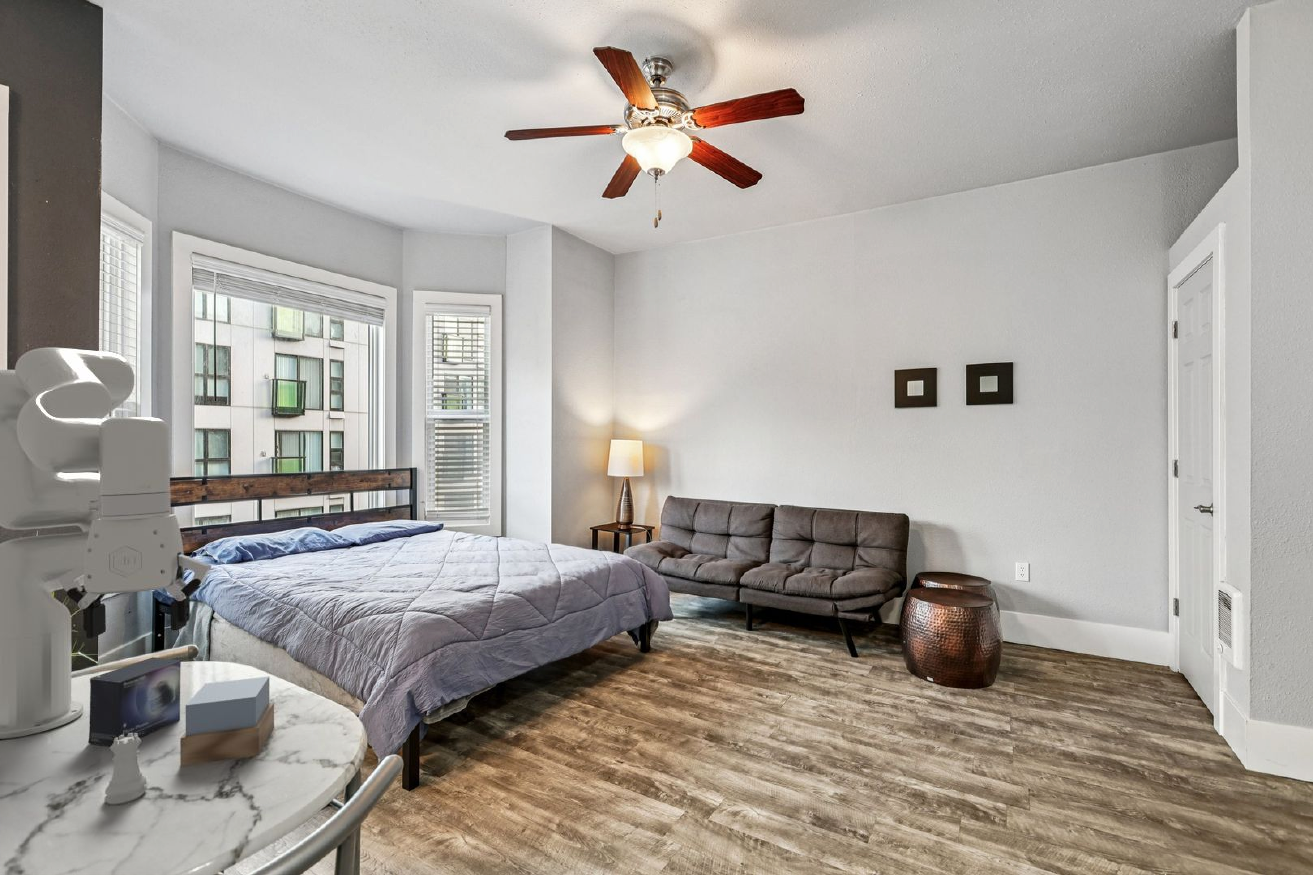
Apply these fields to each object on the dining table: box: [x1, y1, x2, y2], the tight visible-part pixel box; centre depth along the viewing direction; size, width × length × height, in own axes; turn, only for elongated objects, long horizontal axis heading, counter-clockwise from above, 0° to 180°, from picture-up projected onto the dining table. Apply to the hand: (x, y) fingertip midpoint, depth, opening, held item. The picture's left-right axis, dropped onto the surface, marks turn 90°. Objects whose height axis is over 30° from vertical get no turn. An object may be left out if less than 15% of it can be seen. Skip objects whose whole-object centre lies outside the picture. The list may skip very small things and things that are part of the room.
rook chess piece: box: [104, 733, 148, 806], centre depth 86 cm, size 4×4×8 cm
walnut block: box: [179, 701, 275, 767], centre depth 100 cm, size 10×10×4 cm
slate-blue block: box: [185, 676, 270, 736], centre depth 100 cm, size 9×9×4 cm
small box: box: [87, 656, 182, 747], centre depth 105 cm, size 11×6×10 cm, turn 168°
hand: (138, 631), depth 87 cm, fingers open, 9 cm apart
